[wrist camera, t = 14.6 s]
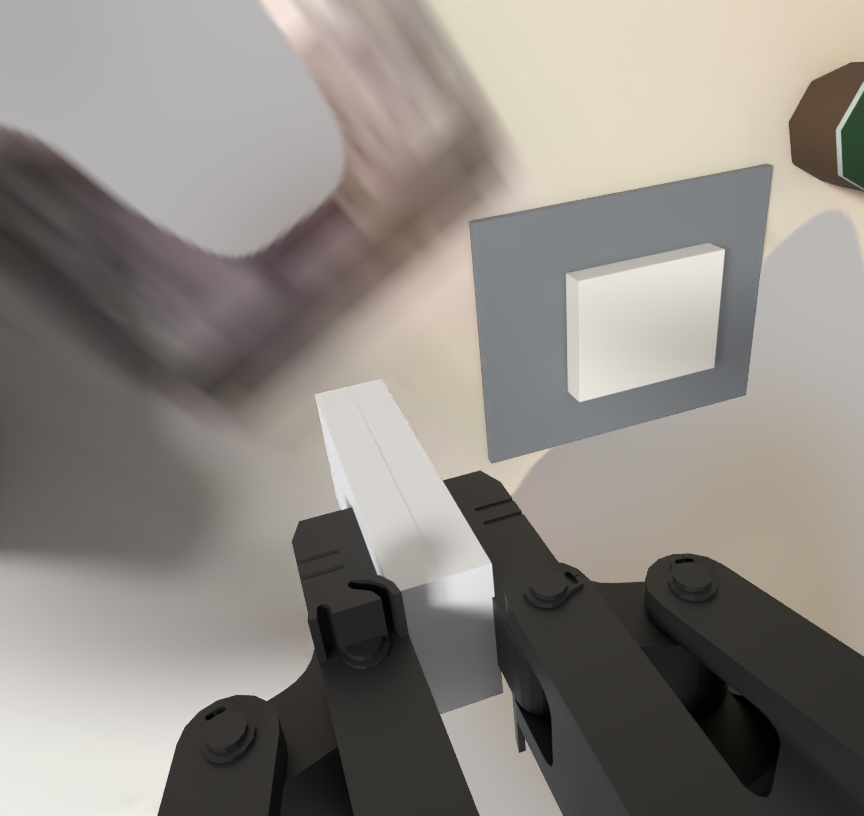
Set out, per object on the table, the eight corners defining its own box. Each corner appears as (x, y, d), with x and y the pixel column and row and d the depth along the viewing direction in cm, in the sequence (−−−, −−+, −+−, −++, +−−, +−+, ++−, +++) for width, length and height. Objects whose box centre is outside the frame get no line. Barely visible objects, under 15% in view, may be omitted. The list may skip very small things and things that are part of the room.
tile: (579, 402, 52) (714, 367, 54) (578, 281, 47) (725, 249, 50) (566, 390, 53) (698, 357, 56) (564, 272, 49) (707, 242, 51)
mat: (488, 459, 55) (491, 463, 54) (469, 221, 46) (472, 223, 45) (741, 392, 59) (745, 394, 59) (766, 164, 51) (772, 165, 50)
